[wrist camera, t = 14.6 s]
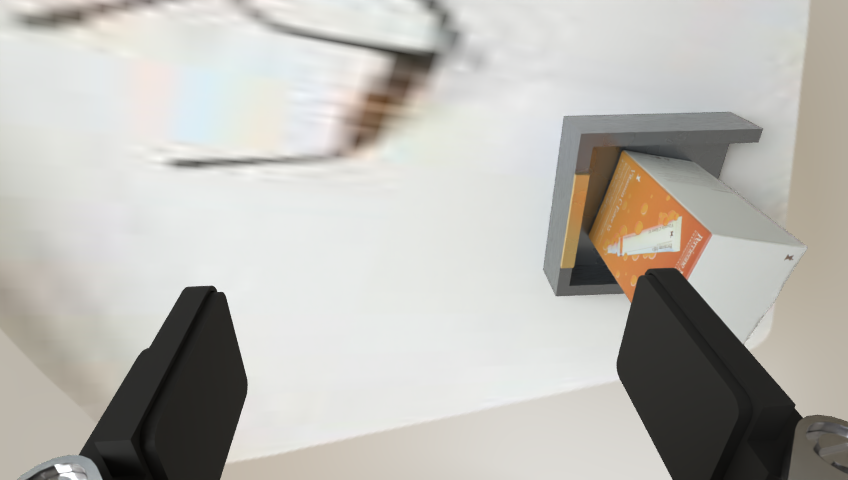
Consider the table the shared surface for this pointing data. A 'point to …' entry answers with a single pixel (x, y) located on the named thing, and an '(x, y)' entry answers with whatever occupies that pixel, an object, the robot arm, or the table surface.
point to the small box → (693, 237)
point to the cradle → (593, 171)
